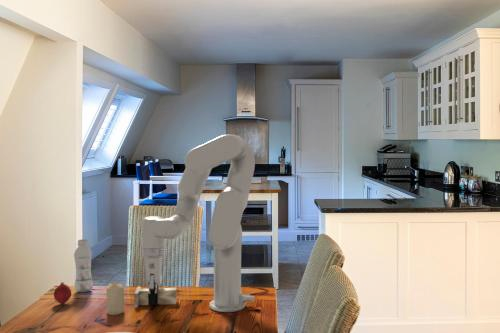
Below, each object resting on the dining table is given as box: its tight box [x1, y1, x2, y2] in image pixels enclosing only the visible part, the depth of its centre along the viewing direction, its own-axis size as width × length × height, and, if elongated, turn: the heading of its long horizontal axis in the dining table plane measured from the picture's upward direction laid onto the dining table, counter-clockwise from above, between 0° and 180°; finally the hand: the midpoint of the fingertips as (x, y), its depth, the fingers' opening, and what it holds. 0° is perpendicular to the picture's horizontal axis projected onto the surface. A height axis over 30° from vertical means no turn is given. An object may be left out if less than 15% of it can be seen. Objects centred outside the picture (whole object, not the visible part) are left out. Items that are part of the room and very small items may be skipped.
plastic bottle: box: [73, 238, 94, 293], centre depth 186 cm, size 6×7×20 cm
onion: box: [53, 281, 72, 305], centre depth 172 cm, size 6×6×8 cm
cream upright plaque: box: [133, 286, 178, 309], centre depth 173 cm, size 14×8×5 cm, turn 96°
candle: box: [106, 281, 125, 316], centre depth 164 cm, size 6×6×10 cm
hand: (153, 301), depth 173 cm, fingers open, 4 cm apart
